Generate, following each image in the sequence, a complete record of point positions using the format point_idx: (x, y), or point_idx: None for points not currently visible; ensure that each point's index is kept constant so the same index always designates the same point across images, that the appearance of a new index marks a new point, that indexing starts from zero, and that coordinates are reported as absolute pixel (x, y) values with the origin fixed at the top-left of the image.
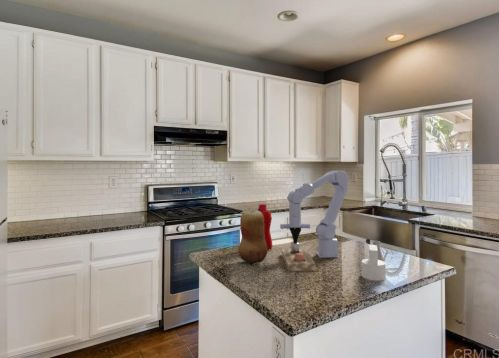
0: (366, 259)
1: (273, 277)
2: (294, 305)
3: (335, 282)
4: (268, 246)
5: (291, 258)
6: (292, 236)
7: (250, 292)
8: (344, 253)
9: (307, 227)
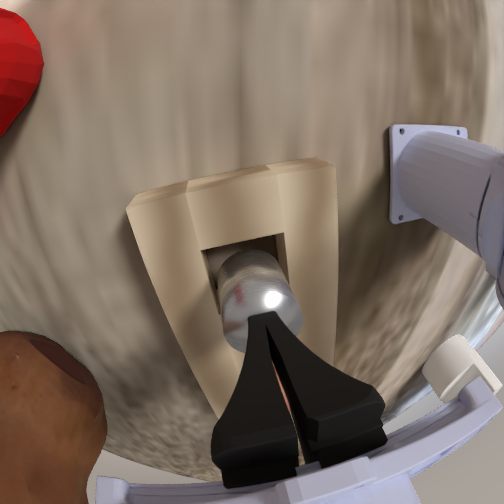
0: (464, 371)
1: (183, 434)
2: None
3: None
4: (13, 102)
5: (229, 380)
6: (245, 362)
7: (162, 467)
8: (489, 135)
9: (452, 412)
